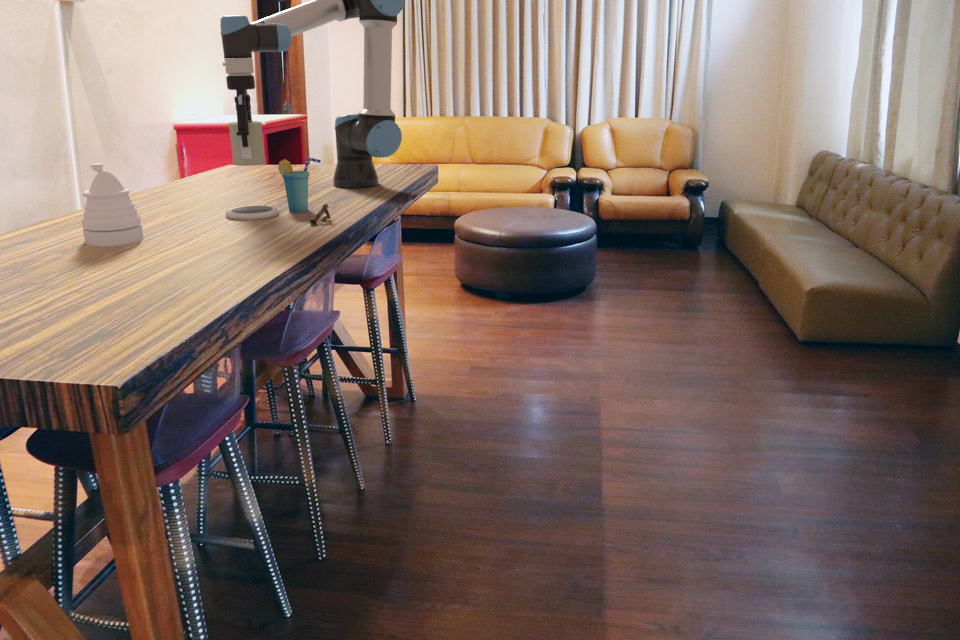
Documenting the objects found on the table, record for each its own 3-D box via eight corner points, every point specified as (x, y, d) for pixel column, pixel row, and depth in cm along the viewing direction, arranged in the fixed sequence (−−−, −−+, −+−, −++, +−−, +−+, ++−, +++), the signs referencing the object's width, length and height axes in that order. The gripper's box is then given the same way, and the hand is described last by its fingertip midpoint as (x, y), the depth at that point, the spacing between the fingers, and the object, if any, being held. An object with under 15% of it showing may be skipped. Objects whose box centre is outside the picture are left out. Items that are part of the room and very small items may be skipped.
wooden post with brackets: (334, 216, 216) (329, 202, 213) (319, 233, 211) (314, 219, 208) (328, 215, 217) (323, 201, 214) (313, 233, 212) (308, 218, 209)
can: (270, 161, 237) (266, 119, 233) (259, 165, 229) (254, 122, 225) (240, 161, 238) (235, 119, 234) (227, 165, 229) (222, 122, 226)
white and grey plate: (280, 209, 230) (279, 204, 230) (276, 219, 217) (276, 213, 217) (229, 211, 228) (228, 205, 228) (222, 221, 215) (222, 215, 214)
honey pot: (72, 244, 190) (59, 166, 184) (114, 233, 201) (103, 160, 195) (115, 248, 185) (103, 169, 180) (155, 237, 197) (145, 162, 191)
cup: (330, 209, 230) (326, 156, 225) (317, 214, 223) (313, 159, 218) (286, 207, 234) (282, 154, 229) (272, 212, 227) (267, 157, 222)
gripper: (230, 73, 235) (239, 152, 242) (220, 76, 215) (230, 162, 222) (257, 73, 236) (265, 151, 243) (250, 75, 216) (258, 160, 223)
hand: (248, 156), depth 233 cm, fingers closed on can, 9 cm apart
